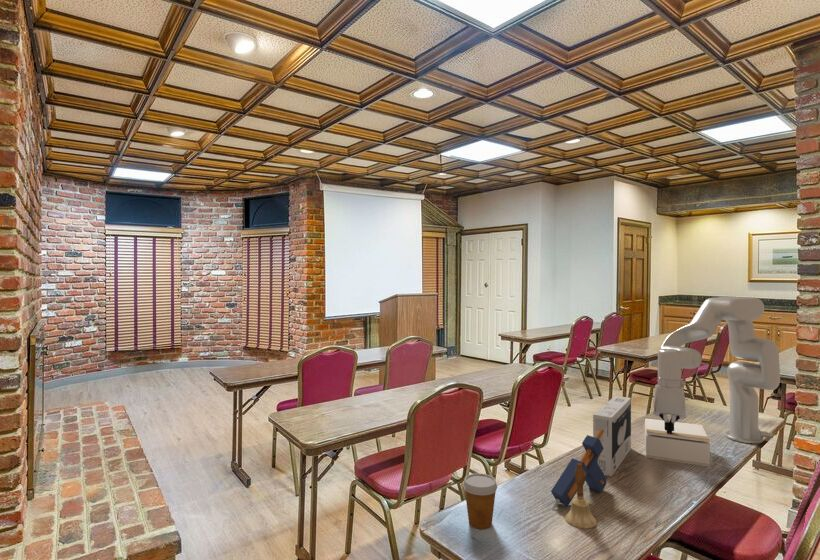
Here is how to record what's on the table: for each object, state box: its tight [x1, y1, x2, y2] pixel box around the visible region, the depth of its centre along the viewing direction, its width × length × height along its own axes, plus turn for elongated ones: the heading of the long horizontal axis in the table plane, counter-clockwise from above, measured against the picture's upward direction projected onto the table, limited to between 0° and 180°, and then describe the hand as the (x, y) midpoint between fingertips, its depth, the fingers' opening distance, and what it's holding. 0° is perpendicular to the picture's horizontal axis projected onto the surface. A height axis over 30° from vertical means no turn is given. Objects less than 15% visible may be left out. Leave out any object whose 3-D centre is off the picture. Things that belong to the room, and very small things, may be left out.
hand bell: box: [564, 463, 598, 530], centre depth 127 cm, size 8×8×16 cm
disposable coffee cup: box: [462, 472, 499, 530], centre depth 126 cm, size 10×10×12 cm
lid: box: [644, 418, 710, 443], centre depth 174 cm, size 20×18×1 cm
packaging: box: [592, 395, 632, 477], centre depth 169 cm, size 30×6×20 cm, turn 143°
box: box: [644, 422, 711, 468], centre depth 174 cm, size 20×18×8 cm
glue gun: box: [550, 429, 608, 511], centre depth 142 cm, size 6×31×15 cm
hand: (669, 432), depth 169 cm, fingers closed
